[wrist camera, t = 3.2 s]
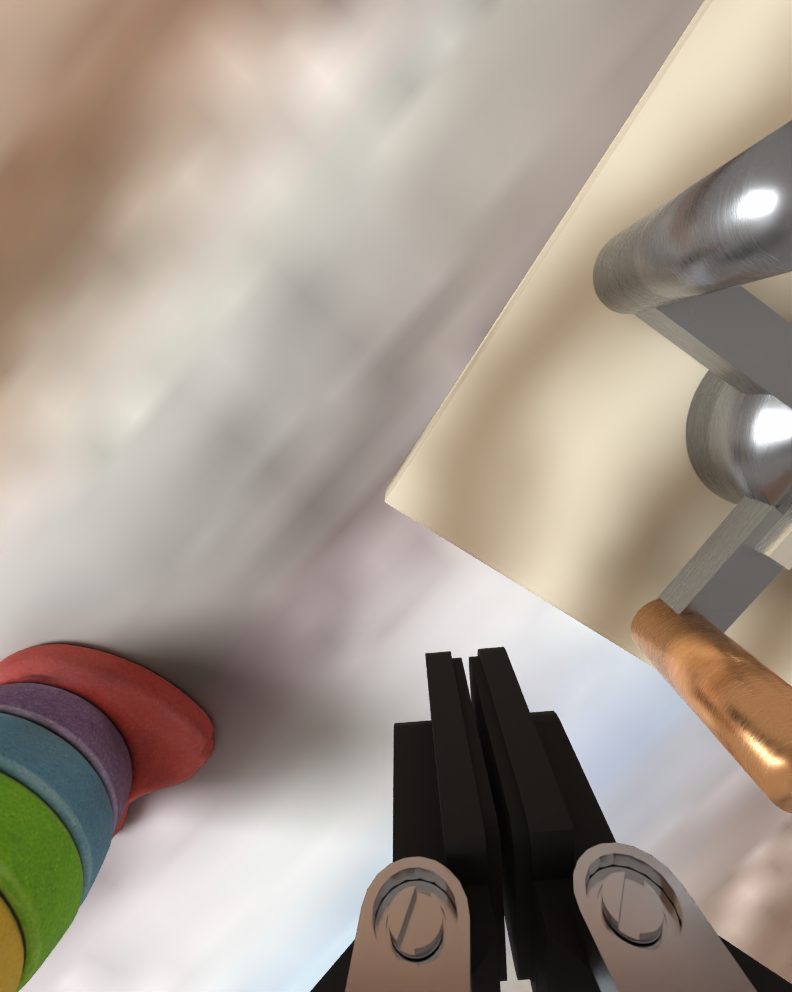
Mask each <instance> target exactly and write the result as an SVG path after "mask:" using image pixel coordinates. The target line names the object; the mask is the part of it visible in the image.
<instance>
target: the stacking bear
mask: <svg viewBox="0 0 792 992" xmlns="http://www.w3.org/2000/svg"><path fill="white" fill-rule="evenodd" d="M213 733H214V727H213V725H212V723H211V721H210V719H209V717H208V715H207V714H206V713H205V712H204V711H203V710H202V709H201V708H200V707H199V706H198V705H197V704H196V703H195V702H194V701H193V700H192V699H190V698H189V697H188V696H187V695H186V694H184V693H183V692H182V691H180V690H179V689H178V688H176V687H175V686H173V685H172V684H171V683H169V682H168V681H166V680H165V679H163V678H162V677H160V676H158V675H156V674H155V673H153V672H151V671H150V670H148V669H146V668H144V667H141V666H139V665H137V664H135V663H133V662H130V661H128V660H125V659H123V658H120V657H118V656H115V655H112V654H109V653H105V652H102V651H98V650H94V649H90V648H85V647H80V646H73V645H65V644H50V645H41V646H34V647H30V648H27V649H24V650H21V651H18V652H16V653H14V654H12V655H10V656H8V657H6V658H5V659H4V660H2V661H1V662H0V992H18V991H19V990H20V989H21V988H22V987H23V986H24V985H25V984H26V983H27V982H28V981H29V980H30V979H31V978H32V976H33V975H34V974H35V973H36V971H37V970H38V969H39V968H40V966H41V965H42V964H43V962H44V961H45V960H46V958H47V957H48V956H49V954H50V953H51V951H52V950H53V949H54V947H55V946H56V945H57V943H58V942H59V941H60V939H61V938H62V936H63V935H64V934H65V932H66V931H67V929H68V928H69V926H70V925H71V923H72V922H73V920H74V918H75V916H76V914H77V912H78V909H79V907H80V906H81V904H82V903H83V901H84V900H85V898H86V896H87V894H88V892H89V891H90V889H91V887H92V885H93V883H94V881H95V879H96V877H97V874H98V872H99V870H100V868H101V866H102V864H103V861H104V859H105V857H106V854H107V852H108V849H109V847H110V843H111V840H112V838H113V837H114V836H115V835H116V834H117V832H118V831H119V830H120V829H121V827H122V826H123V824H124V822H125V820H126V816H127V811H128V807H129V803H131V802H132V801H134V800H135V799H137V798H139V797H141V796H143V795H145V794H148V793H150V792H153V791H156V790H159V789H162V788H166V787H169V786H173V785H176V784H178V783H181V782H183V781H185V780H187V779H189V778H190V777H192V776H193V775H194V774H195V773H196V772H197V770H198V769H199V767H201V766H202V765H203V764H204V763H205V762H206V761H207V760H208V758H209V757H210V755H211V754H212V752H213V750H214V741H213V737H212V735H213Z"/></svg>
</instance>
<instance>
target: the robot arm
mask: <svg viewBox="0 0 792 992" xmlns="http://www.w3.org/2000/svg"><path fill="white" fill-rule="evenodd" d="M425 656H426V667H427V678H428V689H429V700H430V711H431V721H419V722H406V723H394V776H393V863H391V864H389V865H388V866H387V867H386V868H385V869H383V870H382V871H381V872H380V873H378V874H377V876H376V877H375V879H374V880H373V882H372V883H371V885H370V886H369V888H368V889H367V892H366V895H365V898H364V901H363V904H362V907H361V912H360V917H359V922H358V927H357V932H356V937H355V940H354V941H353V942H352V944H351V945H350V946H349V947H348V948H347V949H346V951H345V952H344V953H343V954H342V955H341V956H340V958H339V959H338V960H337V961H336V962H335V963H334V965H333V966H332V967H331V968H330V969H329V970H328V972H327V973H326V974H325V975H324V976H323V977H322V979H321V980H320V981H319V982H318V983H317V984H316V986H315V987H314V988H313V989H312V990H311V991H310V992H500V981H507V967H506V945H505V924H504V916H505V921H506V926H507V931H508V936H509V941H510V946H511V951H512V956H513V962H514V967H515V971H516V975H517V979H518V980H526V979H530V981H531V986H532V991H533V992H792V984H791V983H789V982H788V981H786V980H785V979H783V978H781V977H780V976H778V975H777V974H775V973H774V972H772V971H771V970H769V969H768V968H766V967H765V966H763V965H762V964H760V963H759V962H757V961H756V960H754V959H753V958H751V957H750V956H748V955H747V954H745V953H744V952H742V951H741V950H739V949H738V948H736V947H735V946H733V945H732V944H730V943H729V942H727V941H726V940H724V939H723V938H721V937H720V936H718V935H717V933H716V932H715V931H714V929H713V928H712V926H711V925H710V923H709V922H708V921H707V919H706V918H705V916H704V915H703V913H702V912H701V910H700V909H699V908H698V906H697V905H696V903H695V902H694V900H693V899H692V898H691V896H690V895H689V893H688V892H687V890H686V889H685V888H684V886H683V885H682V884H681V882H680V881H679V880H678V879H677V878H676V877H675V875H674V874H673V873H672V872H671V871H670V870H669V869H668V868H667V867H666V866H665V865H663V864H662V863H661V862H660V861H658V860H657V859H656V858H654V857H653V856H652V855H650V854H648V853H646V852H644V851H642V850H640V849H638V848H636V847H634V846H629V845H625V844H620V843H616V841H615V839H614V837H613V835H612V832H611V830H610V828H609V826H608V824H607V822H606V819H605V817H604V815H603V813H602V811H601V809H600V806H599V804H598V802H597V800H596V798H595V796H594V793H593V791H592V789H591V787H590V785H589V782H588V780H587V778H586V776H585V774H584V772H583V769H582V767H581V765H580V763H579V761H578V759H577V756H576V754H575V752H574V750H573V748H572V746H571V743H570V741H569V739H568V737H567V735H566V733H565V730H564V728H563V726H562V724H561V722H560V720H559V718H558V716H557V714H556V713H555V712H554V711H545V712H532V713H530V712H529V709H528V707H527V704H526V702H525V699H524V696H523V694H522V691H521V689H520V686H519V683H518V681H517V678H516V676H515V673H514V670H513V668H512V665H511V662H510V660H509V657H508V655H507V652H506V650H505V648H504V647H497V648H485V649H478V656H475V657H469V672H470V688H471V698H470V694H469V689H468V685H467V680H466V676H465V671H464V667H463V662H462V658H452V656H451V652H450V651H449V652H437V653H425Z"/></svg>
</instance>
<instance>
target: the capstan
mask: <svg viewBox="0 0 792 992" xmlns="http://www.w3.org/2000/svg"><path fill="white" fill-rule="evenodd" d="M788 272H792V120H791V121H789V122H788V123H786V124H785V125H783V126H782V127H780V128H779V129H777V130H775V131H774V132H772V133H771V134H769V135H768V136H766V137H765V138H763V139H762V140H760V141H759V142H757V143H756V144H754V145H753V146H751V147H750V148H748V149H747V150H745V151H743V152H742V153H740V154H739V155H737V156H736V157H734V158H733V159H731V160H730V161H728V162H727V163H725V164H724V165H722V166H721V167H719V168H718V169H716V170H714V171H713V172H711V173H710V174H708V175H707V176H705V177H704V178H702V179H701V180H699V181H698V182H696V183H695V184H693V185H692V186H690V187H689V188H687V189H685V190H684V191H682V192H681V193H679V194H678V195H676V196H675V197H673V198H672V199H670V200H669V201H667V202H666V203H664V204H663V205H661V206H660V207H658V208H657V209H655V210H653V211H652V212H650V213H649V214H647V215H646V216H644V217H643V218H641V219H640V220H638V221H637V222H635V223H634V224H632V225H631V226H629V227H628V228H626V229H624V230H623V231H621V232H620V233H618V234H617V235H615V236H614V237H613V238H611V239H610V240H609V241H608V242H607V243H606V244H605V245H604V246H603V248H602V249H601V251H600V252H599V254H598V256H597V258H596V261H595V264H594V269H593V285H594V289H595V292H596V294H597V296H598V298H599V300H600V301H601V302H602V303H603V304H604V305H605V306H606V307H607V308H609V309H610V310H612V311H614V312H617V313H620V314H634V315H635V316H637V317H638V318H639V319H641V320H642V321H643V322H645V323H646V324H648V325H649V326H650V327H652V328H653V329H654V330H656V331H657V332H658V333H660V334H661V335H662V336H664V337H665V338H667V339H668V340H669V341H671V342H672V343H673V344H675V345H676V346H677V347H679V348H680V349H682V350H683V351H684V352H686V353H687V354H688V355H690V356H691V357H692V358H694V359H695V360H696V361H698V362H699V363H701V364H702V365H703V366H705V367H706V368H707V369H709V370H708V372H707V373H706V374H705V376H704V377H703V379H702V380H701V382H700V384H699V386H698V388H697V389H696V391H695V394H694V396H693V399H692V401H691V404H690V407H689V411H688V415H687V422H686V446H687V452H688V456H689V459H690V462H691V464H692V467H693V469H694V471H695V473H696V474H697V476H698V477H699V479H700V480H701V481H702V482H703V484H704V485H705V486H706V487H707V488H708V489H709V490H711V491H712V492H713V493H714V494H715V495H717V496H719V497H721V498H722V499H724V500H726V501H728V502H731V503H733V504H736V505H737V506H736V507H735V508H734V509H733V510H732V511H731V513H730V514H729V515H728V516H727V517H726V518H725V520H724V521H723V522H722V523H721V524H720V525H719V527H718V528H717V529H716V530H715V531H714V532H713V534H712V535H711V536H710V537H709V538H708V539H707V541H706V542H705V543H704V544H703V545H702V546H701V548H700V549H699V550H698V551H697V552H696V553H695V555H694V556H693V557H692V558H691V559H690V560H689V562H688V563H687V564H686V565H685V566H684V567H683V569H682V570H681V571H680V572H679V573H678V574H677V576H676V577H675V578H674V579H673V580H672V581H671V583H670V584H669V585H668V586H667V587H666V588H665V589H664V591H663V592H662V593H661V594H660V595H659V596H658V598H657V599H655V600H653V601H651V602H649V603H647V604H645V605H644V606H643V607H642V608H641V609H640V610H639V611H638V612H637V613H636V615H635V616H634V618H633V620H632V623H631V629H630V630H631V637H632V640H633V642H634V644H635V645H636V646H637V648H638V649H639V650H640V651H641V652H642V653H643V654H644V656H645V657H646V658H647V659H648V660H649V661H650V662H651V664H652V665H653V666H654V667H655V668H656V669H657V670H658V672H659V673H660V674H661V675H662V676H663V677H664V678H665V680H666V681H667V682H668V683H669V684H670V685H671V686H672V688H673V689H674V690H675V691H676V692H677V693H678V694H679V696H680V697H681V698H682V699H683V700H684V701H685V702H686V704H687V705H688V706H689V707H690V708H691V709H692V710H693V712H694V713H695V714H696V715H697V716H698V717H699V718H700V720H701V721H702V722H703V723H704V724H705V725H706V726H707V728H708V729H709V730H710V731H711V732H712V733H713V734H714V736H715V737H716V738H717V739H718V740H719V741H720V742H721V744H722V745H723V746H724V747H725V748H726V749H727V750H728V752H729V753H730V754H731V755H732V756H733V757H734V758H735V760H736V761H737V762H738V763H739V764H740V765H741V766H742V768H743V769H744V770H745V771H746V772H747V773H748V774H749V776H750V777H751V778H752V779H753V780H754V781H755V782H756V784H757V785H758V786H759V787H760V788H761V789H762V790H763V792H764V793H765V794H766V795H767V796H768V797H769V798H770V800H771V801H772V802H773V803H774V804H775V805H776V806H778V807H779V808H781V809H782V810H784V811H787V812H790V813H792V686H790V685H789V684H788V683H787V682H785V681H784V680H783V679H782V678H780V677H779V676H778V675H777V674H775V673H774V672H773V671H772V670H770V669H769V668H768V667H766V666H765V665H764V664H763V663H761V662H760V661H759V660H758V659H756V658H755V657H754V656H753V655H751V654H750V653H749V652H748V651H746V650H745V649H744V648H742V647H741V646H740V645H739V644H737V643H736V642H735V641H734V640H732V639H731V638H730V637H729V636H727V635H726V634H725V633H724V632H725V631H726V630H727V629H728V628H729V627H730V626H731V625H732V624H733V623H734V622H735V620H736V619H737V618H738V617H739V616H740V615H741V614H742V613H743V612H744V611H745V610H746V609H747V607H748V606H749V605H750V604H751V603H752V602H753V601H754V600H755V599H756V598H757V597H758V595H759V594H760V593H761V592H762V591H763V590H764V589H765V588H766V587H767V586H768V585H769V583H770V582H771V581H772V580H773V579H774V578H775V577H776V576H777V575H778V574H779V573H780V571H781V570H782V569H783V568H786V569H788V570H790V569H791V568H792V323H788V322H787V321H786V320H785V319H783V318H782V317H781V316H779V315H778V314H777V313H776V312H774V311H773V310H772V309H770V308H769V307H768V306H767V305H765V304H764V303H763V302H761V301H760V300H759V299H758V298H756V297H755V296H754V295H752V294H751V293H750V292H748V291H747V290H746V289H745V288H743V287H742V286H741V285H743V284H747V283H751V282H754V281H758V280H762V279H765V278H769V277H773V276H777V275H780V274H784V273H788Z"/></svg>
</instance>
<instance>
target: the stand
mask: <svg viewBox="0 0 792 992" xmlns="http://www.w3.org/2000/svg"><path fill="white" fill-rule="evenodd" d="M791 120H792V0H705V1H704V2H703V4H702V5H701V7H700V8H699V10H698V11H697V13H696V14H695V16H694V17H693V19H692V21H691V22H690V24H689V25H688V27H687V28H686V30H685V31H684V33H683V34H682V36H681V37H680V39H679V40H678V42H677V44H676V45H675V47H674V48H673V50H672V51H671V53H670V54H669V56H668V57H667V59H666V60H665V62H664V64H663V65H662V67H661V68H660V70H659V71H658V73H657V74H656V76H655V77H654V79H653V80H652V82H651V83H650V85H649V87H648V88H647V90H646V91H645V93H644V94H643V96H642V97H641V99H640V100H639V102H638V103H637V105H636V107H635V108H634V110H633V111H632V113H631V114H630V116H629V117H628V119H627V120H626V122H625V123H624V125H623V126H622V128H621V130H620V131H619V133H618V134H617V136H616V137H615V139H614V140H613V142H612V143H611V145H610V146H609V148H608V150H607V151H606V153H605V154H604V156H603V157H602V159H601V160H600V162H599V163H598V165H597V166H596V168H595V169H594V171H593V173H592V174H591V176H590V177H589V179H588V180H587V182H586V183H585V185H584V186H583V188H582V189H581V191H580V193H579V194H578V196H577V197H576V199H575V200H574V202H573V203H572V205H571V206H570V208H569V209H568V211H567V212H566V214H565V216H564V217H563V219H562V220H561V222H560V223H559V225H558V226H557V228H556V229H555V231H554V232H553V234H552V236H551V237H550V239H549V240H548V242H547V243H546V245H545V246H544V248H543V249H542V251H541V252H540V254H539V255H538V257H537V259H536V260H535V262H534V263H533V265H532V266H531V268H530V269H529V271H528V272H527V274H526V275H525V277H524V279H523V280H522V282H521V283H520V285H519V286H518V288H517V289H516V291H515V292H514V294H513V295H512V297H511V298H510V300H509V302H508V303H507V305H506V306H505V308H504V309H503V311H502V312H501V314H500V315H499V317H498V318H497V320H496V322H495V323H494V325H493V326H492V328H491V329H490V331H489V332H488V334H487V335H486V337H485V338H484V340H483V341H482V343H481V345H480V346H479V348H478V349H477V351H476V352H475V354H474V355H473V357H472V358H471V360H470V361H469V363H468V365H467V366H466V368H465V369H464V371H463V372H462V374H461V375H460V377H459V378H458V380H457V381H456V383H455V384H454V386H453V388H452V389H451V391H450V392H449V394H448V395H447V397H446V398H445V400H444V401H443V403H442V404H441V406H440V408H439V409H438V411H437V412H436V414H435V415H434V417H433V418H432V420H431V421H430V423H429V424H428V426H427V428H426V429H425V431H424V432H423V434H422V435H421V437H420V438H419V440H418V441H417V443H416V444H415V446H414V447H413V449H412V451H411V452H410V454H409V455H408V457H407V458H406V460H405V461H404V463H403V464H402V466H401V467H400V469H399V471H398V472H397V474H396V475H395V477H394V478H393V480H392V481H391V483H390V484H389V486H388V487H387V489H386V495H385V503H387V504H389V505H390V506H392V507H394V508H395V509H397V510H398V511H400V512H402V513H403V514H405V515H407V516H408V517H410V518H412V519H413V520H415V521H416V522H418V523H420V524H421V525H423V526H425V527H426V528H428V529H429V530H431V531H433V532H434V533H436V534H438V535H439V536H441V537H442V538H444V539H446V540H447V541H449V542H451V543H452V544H454V545H455V546H457V547H459V548H460V549H462V550H464V551H465V552H467V553H468V554H470V555H472V556H473V557H475V558H477V559H478V560H480V561H481V562H483V563H485V564H486V565H488V566H490V567H491V568H493V569H494V570H496V571H498V572H499V573H501V574H503V575H504V576H506V577H507V578H509V579H511V580H512V581H514V582H516V583H517V584H519V585H520V586H522V587H524V588H525V589H527V590H529V591H530V592H532V593H533V594H535V595H537V596H538V597H540V598H542V599H543V600H545V601H546V602H548V603H550V604H551V605H553V606H555V607H556V608H558V609H559V610H561V611H563V612H564V613H566V614H568V615H569V616H571V617H572V618H574V619H576V620H577V621H579V622H581V623H582V624H584V625H585V626H587V627H589V628H590V629H592V630H594V631H595V632H597V633H598V634H600V635H602V636H603V637H605V638H607V639H608V640H610V641H611V642H613V643H615V644H616V645H618V646H620V647H621V648H623V649H624V650H626V651H628V652H629V653H631V654H633V655H634V656H636V657H637V658H639V659H641V660H642V661H644V662H646V663H647V664H649V665H650V666H652V667H654V666H653V665H652V664H651V662H650V661H649V660H648V659H647V658H646V657H645V656H644V654H643V653H642V652H641V651H640V650H639V649H638V648H637V646H636V645H635V644H634V642H633V640H632V637H631V630H630V629H631V623H632V620H633V618H634V616H635V615H636V613H637V612H638V611H639V610H640V609H641V608H642V607H643V606H644V605H645V604H647V603H649V602H651V601H653V600H655V599H657V598H658V596H659V595H660V594H661V593H662V592H663V591H664V589H665V588H666V587H667V586H668V585H669V584H670V583H671V581H672V580H673V579H674V578H675V577H676V576H677V574H678V573H679V572H680V571H681V570H682V569H683V567H684V566H685V565H686V564H687V563H688V562H689V560H690V559H691V558H692V557H693V556H694V555H695V553H696V552H697V551H698V550H699V549H700V548H701V546H702V545H703V544H704V543H705V542H706V541H707V539H708V538H709V537H710V536H711V535H712V534H713V532H714V531H715V530H716V529H717V528H718V527H719V525H720V524H721V523H722V522H723V521H724V520H725V518H726V517H727V516H728V515H729V514H730V513H731V511H732V510H733V509H734V508H735V507H736V506H737V505H736V504H733V503H731V502H728V501H726V500H724V499H722V498H721V497H719V496H717V495H715V494H714V493H713V492H712V491H711V490H709V489H708V488H707V487H706V486H705V485H704V484H703V482H702V481H701V480H700V479H699V477H698V476H697V474H696V473H695V471H694V469H693V467H692V464H691V462H690V459H689V456H688V452H687V446H686V422H687V415H688V411H689V407H690V404H691V401H692V399H693V396H694V394H695V391H696V389H697V388H698V386H699V384H700V382H701V380H702V379H703V377H704V376H705V374H706V373H707V372H708V370H709V369H707V368H706V367H705V366H703V365H702V364H701V363H699V362H698V361H696V360H695V359H694V358H692V357H691V356H690V355H688V354H687V353H686V352H684V351H683V350H682V349H680V348H679V347H677V346H676V345H675V344H673V343H672V342H671V341H669V340H668V339H667V338H665V337H664V336H662V335H661V334H660V333H658V332H657V331H656V330H654V329H653V328H652V327H650V326H649V325H648V324H646V323H645V322H643V321H642V320H641V319H639V318H638V317H637V316H635V315H634V314H620V313H617V312H614V311H612V310H610V309H609V308H607V307H606V306H605V305H604V304H603V303H602V302H601V301H600V300H599V298H598V296H597V294H596V292H595V289H594V285H593V269H594V264H595V261H596V258H597V256H598V254H599V252H600V251H601V249H602V248H603V246H604V245H605V244H606V243H607V242H608V241H609V240H610V239H611V238H613V237H614V236H615V235H617V234H618V233H620V232H621V231H623V230H624V229H626V228H628V227H629V226H631V225H632V224H634V223H635V222H637V221H638V220H640V219H641V218H643V217H644V216H646V215H647V214H649V213H650V212H652V211H653V210H655V209H657V208H658V207H660V206H661V205H663V204H664V203H666V202H667V201H669V200H670V199H672V198H673V197H675V196H676V195H678V194H679V193H681V192H682V191H684V190H685V189H687V188H689V187H690V186H692V185H693V184H695V183H696V182H698V181H699V180H701V179H702V178H704V177H705V176H707V175H708V174H710V173H711V172H713V171H714V170H716V169H718V168H719V167H721V166H722V165H724V164H725V163H727V162H728V161H730V160H731V159H733V158H734V157H736V156H737V155H739V154H740V153H742V152H743V151H745V150H747V149H748V148H750V147H751V146H753V145H754V144H756V143H757V142H759V141H760V140H762V139H763V138H765V137H766V136H768V135H769V134H771V133H772V132H774V131H775V130H777V129H779V128H780V127H782V126H783V125H785V124H786V123H788V122H789V121H791ZM741 286H742V287H743V288H745V289H746V290H747V291H748V292H750V293H751V294H752V295H754V296H755V297H756V298H758V299H759V300H760V301H761V302H763V303H764V304H765V305H767V306H768V307H769V308H770V309H772V310H773V311H774V312H776V313H777V314H778V315H779V316H781V317H782V318H783V319H785V320H786V321H787V322H788V323H792V272H788V273H784V274H780V275H777V276H773V277H769V278H765V279H762V280H758V281H754V282H751V283H747V284H743V285H741ZM724 633H725V634H726V635H727V636H729V637H730V638H731V639H732V640H734V641H735V642H736V643H737V644H739V645H740V646H741V647H742V648H744V649H745V650H746V651H748V652H749V653H750V654H751V655H753V656H754V657H755V658H756V659H758V660H759V661H760V662H761V663H763V664H764V665H765V666H766V667H768V668H769V669H770V670H772V671H773V672H774V673H775V674H777V675H778V676H779V677H780V678H782V679H783V680H784V681H785V682H787V683H788V684H789V685H790V686H792V568H791V569H790V570H788V569H786V568H783V569H782V570H781V571H780V573H779V574H778V575H777V576H776V577H775V578H774V579H773V580H772V581H771V582H770V583H769V585H768V586H767V587H766V588H765V589H764V590H763V591H762V592H761V593H760V594H759V595H758V597H757V598H756V599H755V600H754V601H753V602H752V603H751V604H750V605H749V606H748V607H747V609H746V610H745V611H744V612H743V613H742V614H741V615H740V616H739V617H738V618H737V619H736V620H735V622H734V623H733V624H732V625H731V626H730V627H729V628H728V629H727V630H726V631H725V632H724ZM654 668H655V667H654ZM655 669H656V668H655Z"/></svg>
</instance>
